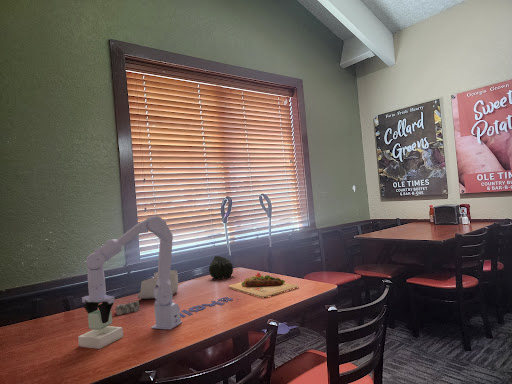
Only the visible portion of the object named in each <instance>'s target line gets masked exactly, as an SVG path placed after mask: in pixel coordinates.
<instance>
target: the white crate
mask: <svg viewBox="0 0 512 384" xmlns="http://www.w3.org/2000/svg"><path fill="white" fill-rule="evenodd" d="M123 330H124V329H123V327H122V326H114V325H113V326H112V325H109V326H107V327H104V328H102V329H100V330H94V329H91V330H90V331H89V330H88V331H87V332H86V333H82V334H81V335H78V336H77V341H78V347H81V348H89V349H90V348H91V349H98V350H101V349H102V348H104V347H106V346H109V345H110V344H111V343H113V342H116V341H118V340H119V339H121V338H123V337H124V331H123Z"/></svg>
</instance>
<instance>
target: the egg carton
mask: <svg viewBox="0 0 512 384" xmlns="http://www.w3.org/2000/svg"><path fill="white" fill-rule="evenodd" d="M115 311H116V315H119V316H120V315H123V314H130V313H132V312H133V313H134V312H138V311H140V302H139V300H136V301H133V302H128V303H125V304H124V303H123V304H122V303H119V304H118V305H117V306H116V307H115Z"/></svg>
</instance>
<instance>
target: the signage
mask: <svg viewBox="0 0 512 384" xmlns="http://www.w3.org/2000/svg"><path fill="white" fill-rule="evenodd" d="M225 298H227V299H225ZM222 299H223V300H222ZM225 300H227V301H225ZM231 300H232V301H233V300H234V299H233V298H231V297H228V296H225V297H221V298H218V299H217V302H216V300H212V301H211V302H210V303H202V304H201V305H200V304H198V305H196V306H195V305H194V306H191V307H190V308H188V310H186V309H185V308H184V309H182V310H181V309H180V318H185V317H187V315H188V316H192V315H194V312H195V313H199V311H203V310H205V309H206V307H210V308H212V306H213V307H215V306H216V305H219V306H224V305H225V304H226V303H229V302H228V301H230V302H232V301H231ZM219 301H221V302H219ZM224 302H226V303H224ZM223 304H224V305H223ZM185 314H186V315H185Z"/></svg>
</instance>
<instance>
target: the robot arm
mask: <svg viewBox="0 0 512 384" xmlns="http://www.w3.org/2000/svg"><path fill="white" fill-rule="evenodd" d="M149 232H150V233H152V234H154V235H155V237H157V238H158V239H159V250H158V252H159V253H158V264H157V266H158V267H157V272H158V277H157V281H156V286H155V288H154V290H153V296H154V298H153V299H155V300H154V301H155V302H154V303H153V307H154V317H155V324H154V325H152V326H151V329H157V330H158V329H159V330H172V329H174V328H176V327H177V326H179V325H181V324H183V321H182V319H181V318H182V317H180V313H181V309H180V308H181V307H180V305H179V304H178V303H175V302H174V300H173V297H174V294H173V293H172V291H171V283H170V270H172V268H171V267H172V254H173V252H172V250H173V238H174V237H173V233H172V231H171V229H170V228H169V226H168V224H167V221H165V219H164V218H162V217H161V216H157V215H155V216H148V217H147V218H146V219H144V220H142V221H140V222H138V223H136V224H135V225H134V226H133V227H131V228H130V229H129V230H127V231H126V232H125V233H123V234H122V235H121V236H119V238H117V239H116V238H115V239H114V238H113V239H112V238H111V239H107V240H106V241H105V243H104V244H103V245H101V246H100V247H99V248H95V249H94V252H91V253H90V254H89V255H88V256H87V257H86V260H85V264H86V266H87V269H86V270H87V285H88V287H87V288H88V295H85V296H82V297H81V301H82V303H84V304H82V306H83V308H84V310H85V311H86V312H87V315H88V314H89V313H91V312H94V311H97V310H100V313H101V319H102V323H106V322H108V320H109V314H110V310H111V311H112V308H113V305H114V303H115V302H116V301H115V296H110V295H107V290H106V288H107V287H106V279H105V277H106V276H105V271H104V264H105V263H104V262H108V261H109V260H111V259H112V258H114V256H116V255H117V254H119V253H121V252H122V248H123V246H124V245H125V244H127V243H129V242H130V241H131V240H133V239H135V238H136V237H137V236H139V235H140V234H145V233H149ZM99 303H100V304H99Z"/></svg>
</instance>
